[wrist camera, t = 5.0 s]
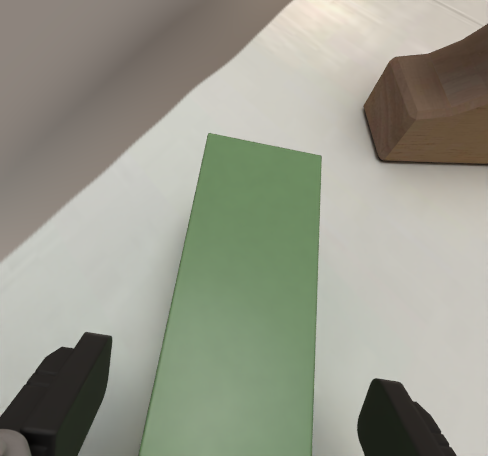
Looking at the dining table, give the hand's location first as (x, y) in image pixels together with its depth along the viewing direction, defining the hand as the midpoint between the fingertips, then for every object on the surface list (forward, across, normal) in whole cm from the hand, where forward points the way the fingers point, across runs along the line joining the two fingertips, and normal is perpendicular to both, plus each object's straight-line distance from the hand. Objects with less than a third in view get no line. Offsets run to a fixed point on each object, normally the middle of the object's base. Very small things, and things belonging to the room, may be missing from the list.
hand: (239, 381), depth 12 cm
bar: (+8, 0, +4) cm, 9 cm away
